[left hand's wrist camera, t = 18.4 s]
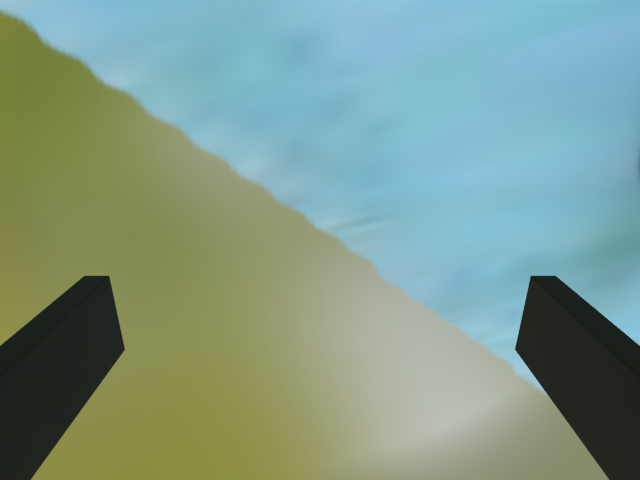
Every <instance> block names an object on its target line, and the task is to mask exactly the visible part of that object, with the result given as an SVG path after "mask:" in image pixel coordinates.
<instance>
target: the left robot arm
mask: <svg viewBox="0 0 640 480" xmlns="http://www.w3.org/2000/svg"><path fill="white" fill-rule="evenodd" d="M124 350H125V348H124V344H123V339H122V334H121V329H120V325H119V320H118V315H117V311H116V306H115V302H114V297H113V292H112V287H111V283H110V278H109V276H84V277H83V278H81V279H80V280H79V281H78V282H77V283H75V284H74V285H73V286H72V287H71V288H69V289H68V290H67V291H66V292H65V293H63V294H62V295H61V296H60V297H59V298H57V299H56V300H55V301H54V302H53V303H51V304H50V305H49V306H48V307H47V308H45V309H44V310H43V311H42V312H41V313H39V314H38V315H37V316H36V317H35V318H33V319H32V320H31V321H30V322H29V323H27V324H26V325H25V326H24V327H23V328H21V329H20V330H19V331H18V332H16V333H15V334H14V335H13V336H12V337H10V338H9V339H8V340H7V341H6V342H4V343H3V344H2V345H1V346H0V480H31V478H32V477H33V476H34V474H35V473H36V471H37V470H38V469H39V467H40V466H41V464H42V463H43V462H44V460H45V459H46V458H47V456H48V455H49V454H50V452H51V451H52V449H53V448H54V447H55V445H56V444H57V442H58V441H59V440H60V438H61V437H62V436H63V434H64V433H65V431H66V430H67V429H68V427H69V426H70V425H71V423H72V422H73V420H74V419H75V418H76V416H77V415H78V413H79V412H80V411H81V409H82V408H83V407H84V405H85V404H86V402H87V401H88V400H89V398H90V397H91V396H92V394H93V393H94V391H95V390H96V389H97V387H98V386H99V384H100V383H101V382H102V380H103V379H104V378H105V376H106V375H107V373H108V372H109V371H110V369H111V368H112V366H113V365H114V364H115V362H116V361H117V360H118V358H119V357H120V355H121V354H122V353H123V351H124ZM515 350H516V351H517V353H518V354H519V355H520V357H521V358H522V360H523V361H524V362H525V364H526V365H527V367H528V368H529V369H530V371H531V372H532V373H533V375H534V376H535V378H536V379H537V380H538V382H539V383H540V384H541V386H542V387H543V389H544V390H545V391H546V393H547V394H548V396H549V397H550V398H551V400H552V401H553V402H554V404H555V405H556V407H557V408H558V409H559V411H560V412H561V413H562V415H563V416H564V418H565V419H566V420H567V422H568V423H569V424H570V426H571V427H572V429H573V430H574V431H575V433H576V434H577V436H578V437H579V438H580V440H581V441H582V442H583V444H584V445H585V447H586V448H587V449H588V451H589V452H590V454H591V455H592V456H593V458H594V459H595V460H596V462H597V463H598V465H599V466H600V467H601V469H602V470H603V471H604V473H605V474H606V476H607V477H608V478H609V480H640V346H639V345H638V344H637V343H636V342H634V341H633V340H632V339H631V338H630V337H628V336H627V335H626V334H625V333H624V332H622V331H621V330H620V329H619V328H618V327H616V326H615V325H614V324H613V323H612V322H610V321H609V320H608V319H607V318H606V317H604V316H603V315H602V314H601V313H599V312H598V311H597V310H596V309H595V308H593V307H592V306H591V305H590V304H589V303H587V302H586V301H585V300H584V299H583V298H581V297H580V296H579V295H578V294H577V293H575V292H574V291H573V290H572V289H571V288H569V287H568V286H567V285H566V284H565V283H563V282H562V281H561V280H560V279H559V278H557V277H556V276H531V278H530V283H529V287H528V292H527V297H526V301H525V306H524V311H523V315H522V320H521V325H520V329H519V334H518V339H517V343H516V348H515Z"/></svg>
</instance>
